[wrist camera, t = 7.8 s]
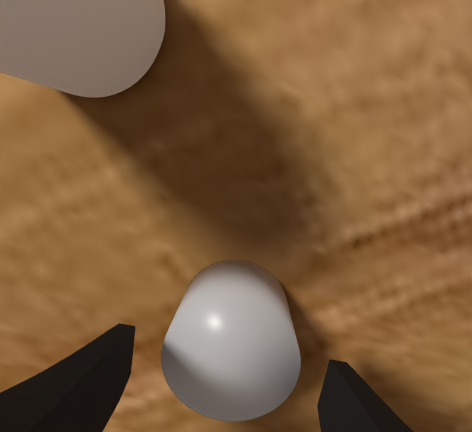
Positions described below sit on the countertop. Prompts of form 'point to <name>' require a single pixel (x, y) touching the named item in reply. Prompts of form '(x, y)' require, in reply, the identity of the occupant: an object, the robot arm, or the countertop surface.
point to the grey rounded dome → (232, 343)
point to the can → (80, 43)
